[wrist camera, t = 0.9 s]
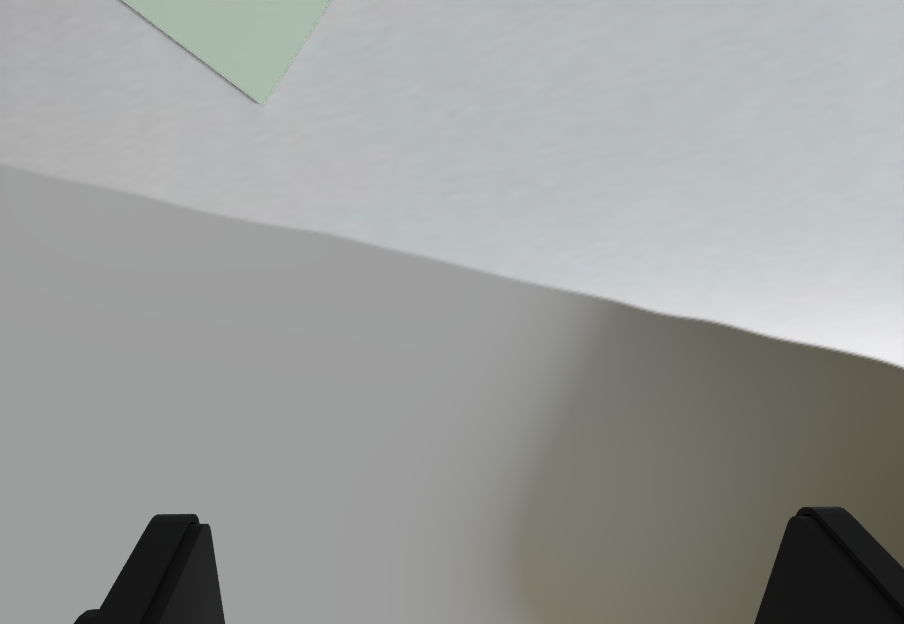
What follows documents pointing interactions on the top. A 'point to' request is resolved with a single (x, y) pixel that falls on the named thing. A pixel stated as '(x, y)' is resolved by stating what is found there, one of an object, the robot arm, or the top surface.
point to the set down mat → (238, 35)
